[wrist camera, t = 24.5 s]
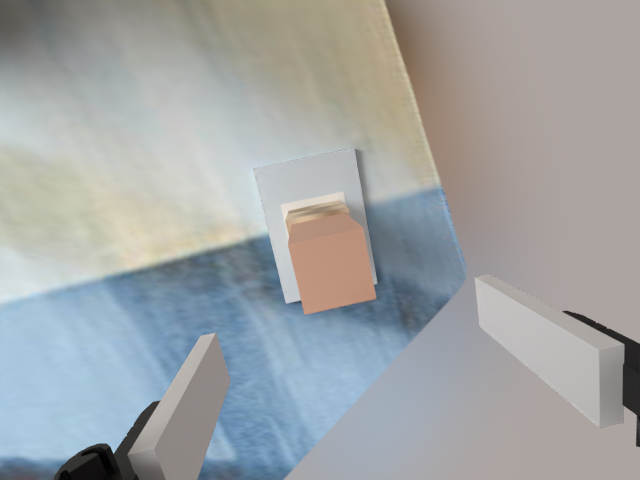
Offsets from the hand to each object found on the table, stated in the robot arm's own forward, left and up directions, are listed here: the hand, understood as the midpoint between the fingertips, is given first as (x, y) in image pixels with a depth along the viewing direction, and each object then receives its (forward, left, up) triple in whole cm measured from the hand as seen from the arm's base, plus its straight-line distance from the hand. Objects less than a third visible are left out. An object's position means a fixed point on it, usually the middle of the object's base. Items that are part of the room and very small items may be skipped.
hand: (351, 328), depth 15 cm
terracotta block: (0, 0, -20) cm, 20 cm away
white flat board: (0, 0, -31) cm, 31 cm away
